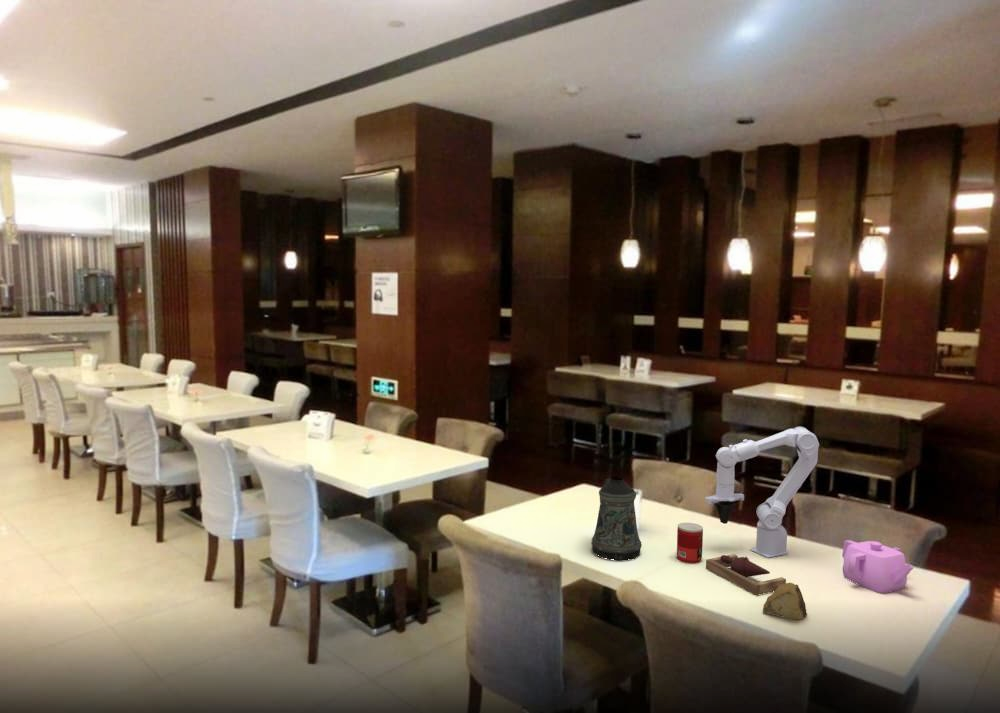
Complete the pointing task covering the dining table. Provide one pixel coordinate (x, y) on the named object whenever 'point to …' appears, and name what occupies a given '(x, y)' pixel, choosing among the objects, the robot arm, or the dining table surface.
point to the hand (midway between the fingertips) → (723, 522)
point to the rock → (786, 602)
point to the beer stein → (616, 522)
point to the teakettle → (875, 566)
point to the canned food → (689, 542)
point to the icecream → (744, 566)
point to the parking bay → (742, 577)
